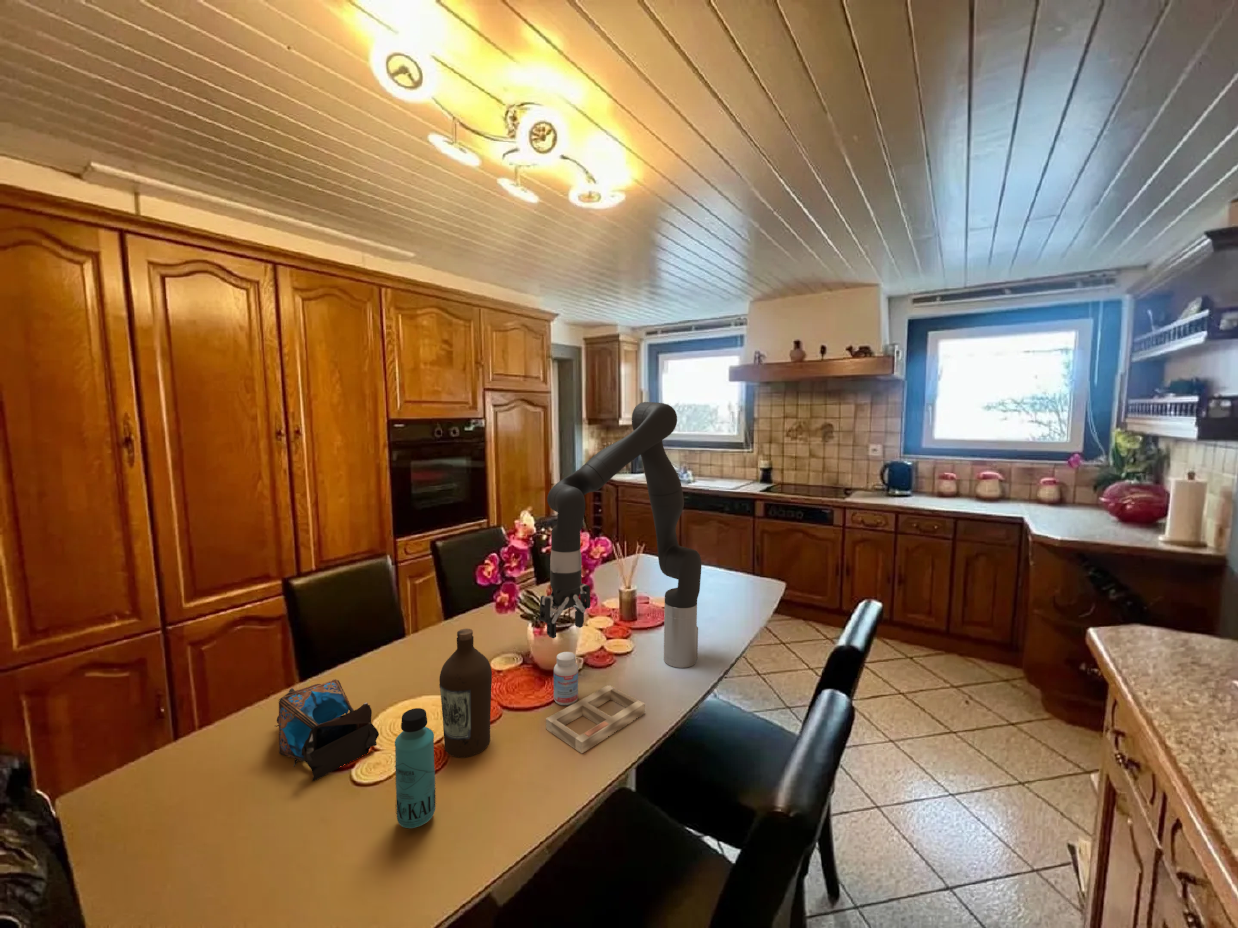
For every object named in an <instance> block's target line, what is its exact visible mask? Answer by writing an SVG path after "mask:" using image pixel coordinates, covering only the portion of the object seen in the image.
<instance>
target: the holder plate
mask: <svg viewBox="0 0 1238 928" xmlns="http://www.w3.org/2000/svg"><path fill="white" fill-rule="evenodd" d="M610 700H611V701H613V702H615V703H617V704H619V705H620V706H623V707H624V708H623V709H622V710H620V711H618V712H617V713H615V714H613V715H612V716H611V715H609V714H607V713H606V712H604V711H602V710H601V709H599V708H598V707H600V706H602V705H603V704H605V703H607V702H609V701H610ZM645 705H646V703H644V702H643V701H640V700H639V699H637V698H635V697H633V696H631V695H629V694H627V693H625V692H623V691H621V690H619V689H618V688H615V687H614V686H611V685H610V684H608V685H605V686H604V687H602V688H600V689H599V690H596V691H595V692H593V693H591V694H589V695H587V696H585V697H584V698H581V699H580V700H577V701H576V702H575V703H573V704H570V705H567V707H565V708H563V709H561V710H559V711H557V712H556V713H553V714H552V715H550V716H548V717H546V718H545V729H546V730H547V731H548V732H550V733H551V734H553V735H554V736H555V737H557V738H558V739H559V740H561V741H563V742H564V743H566V744H567V745H569V746H570V747H571V748H573V749H575V750H576V751H577V752H578V753H580V754H583V753H586V752H587V751H588V750H590V749H591V748H593V747H595V746H596V745H598V744H599V743H601V742H602V741H605V740H606V739H607V738H609V737H610V736H612V735H613V734H615V733H616V731H617V730H618V731H620V730H622V729H623V728H625V727H626V726H628V725H629V724H631V723H633V722H634V721H636V720H637V719H638V717H639V716H640V717H642V716H643V715H645V714H646V713H645V712H646V711H645V709H646V708H645V707H646V706H645ZM644 713H645V714H644ZM642 714H643V715H642ZM641 715H642V716H641ZM582 716H583V718H584V717H585V718H586V719H588V720H589V721H591V722H592V723H594V724H596V725H595V726H594V727H592V728H590V729H588V730H586V731H585V732H583V733H580V734H578V733H577V732H575V731H574V730H573V729H570V728H569V727H568V726H567V725H568V724H570V723H572V722H573V721H576V720H577V719H578V718H579V719H580V718H581V717H582ZM640 717H639V718H640ZM636 718H637V719H636ZM633 720H634V721H633ZM627 724H628V725H627ZM625 725H626V726H625ZM622 727H623V728H622ZM618 731H617V732H618ZM614 732H615V733H614ZM608 736H609V737H608Z"/></svg>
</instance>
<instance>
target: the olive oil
mask: <svg viewBox="0 0 1238 928" xmlns="http://www.w3.org/2000/svg"><path fill="white" fill-rule="evenodd" d="M456 636H457V637H456V650H455V651H454V652H453V653H451V655H450V656H449V657H448V658H447V660H445V662H444V664H443V665H442V667H441V671H440V674H439V680H438V681H439V685H438V686H439V691H440V703H441V715H442V725H443V726H442V727H443V745H444V751H445V752H446V753H447V754H448V755H450V756H452V757H455V758H469V757H473V756H476V755H478V754H480V753H482V752H483V751H485V749H486V748H487V747H488V746H489V744H490V741H491V711H492V710H491V707H492V706H491V704H492V679H493V677H492V676H493V672H492V667H491V664H490V661H489V660H488V658H487V657H486V656H485V655H484V654H483V653H481V652H480V651H479V650H478V649H477V648H476V647H474V630H473V629H471V628H462V629H459V630H457V632H456Z"/></svg>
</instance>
